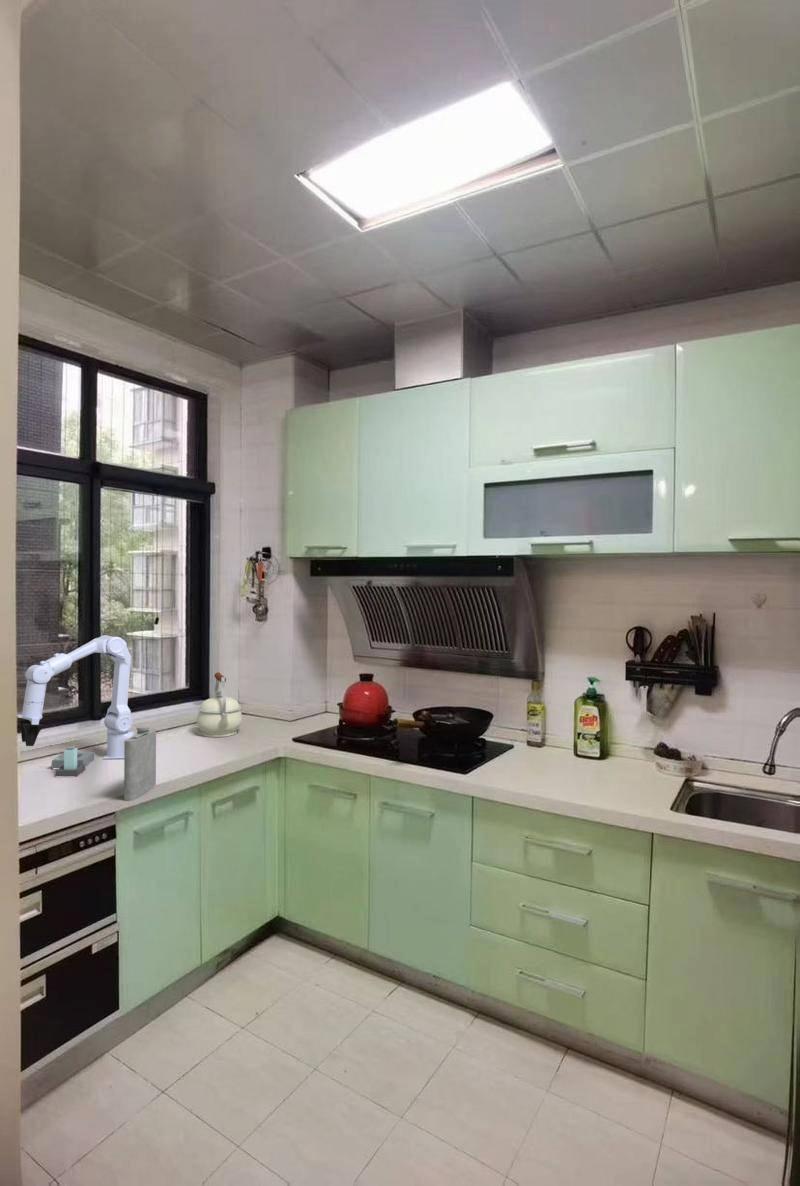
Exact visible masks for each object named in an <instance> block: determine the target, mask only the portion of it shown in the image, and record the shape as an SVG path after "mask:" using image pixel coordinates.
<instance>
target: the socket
mask: <svg viewBox="0 0 800 1186" xmlns="http://www.w3.org/2000/svg"><path fill="white" fill-rule="evenodd" d="M93 760H94V761H95V752H94V751H77V764H86V765H87V766H88V764H89V763H90V762H91V763H93V762H94V761H93ZM92 761H93V762H92ZM91 763H90V764H91ZM90 764H89V765H90ZM63 765H64V752H63V753H62V754H60V755H59V756H57V757H55V758H53V759H52V760H51V769H52V768H60V767H62V766H63Z"/></svg>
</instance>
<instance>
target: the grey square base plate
mask: <svg viewBox="0 0 800 1186" xmlns="http://www.w3.org/2000/svg"><path fill="white" fill-rule="evenodd" d="M85 766H86V764H77V768H76V769H66V770H64V765H63V766H62V767H60V768H59V769H55V770H54V771H55V772H54V775H55V776H75V777H78V775H79V774H80V773H81V774H83V773H84V772H85V771H86V767H87V766H86V767H85ZM84 770H85V771H84ZM83 771H84V772H83ZM81 774H80V775H81ZM80 775H79V776H80Z"/></svg>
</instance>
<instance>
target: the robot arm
mask: <svg viewBox="0 0 800 1186" xmlns="http://www.w3.org/2000/svg"><path fill="white" fill-rule="evenodd" d="M127 645H128V644H127V642H126V641H125V640H124V639H123V638H121V637H120V636H110V635H106V634H105V635H101V636H99V637H96V638H94V639H93V638H92V640H90V641H89V642H87V643H85V644H83V645H81V646H80V647H78V648H76V649H74V650H72V651H71V652H69V653H67V654H66V653H62V652H61V653H54V654H53V657H50V658H48V659H46V660H41V661H40V662H39V664H34V665H31V666H29V667H28V669H26V672H24V677H25V679H26V687H25V690H24V691H25V692H24V698H23V704H22V705H23V707H22V712H21V714H17V716H18V717H17V718H20V719H18V720H19V721H18V722H19V723H18V724H19V726H20V731H21V732H20V734H21V741H22V742H23V743H25V746H26V747H34V745H35V744H36V741H37V738H38V737H39V736H38V735H39V733H40V732H41V731H42V729H43V728H44V724H40V720H42V719H43V710H44V705H45V697H46V691H47V683H48V682H49V681H50V680H51V678H53V677H54V676H57V675H58V674H60V673H63V672H64V671H66V670H68V669H70V668H71V666H72V664H73V663H74V662H76V661H79V660H80V659H83V658H86V657H88V656H89V655H92V654H94V653H96V654H97V653H99V654H105V655H106V656H108V657H109V658H110V659H111V660H112V661H113V662H114V669H113V678H112V679H113V680H112V690H111V691H112V692H111V704H110V706H109V707H108V708H107V712H106V715H105V717H104V720H103V724H104V726H105V728H107V731H106V733H107V735H106V736H107V738H106V743H107V744H106V747H107V748H106V755H104V756H103V757H102V759H103V760H106V759H107V760H110V759H113V760H114V759H115V760H117V759H121V760H122V759H124V740H126V739H129V738H130V737H132V736H134V735H136V734H137V732H135V731H130V729H132V726H133V719H132V716H131V715H132V713H131V712H132V711H131V709H130V707H129V706H128V703H129V702H128V701H129V691H130V689H129V688H130V679H131V678H130V676H131V667H132V666H131V665H132V664H131V663H132V656H131V653H130V650H129V649H128V646H127Z"/></svg>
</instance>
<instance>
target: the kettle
mask: <svg viewBox="0 0 800 1186" xmlns="http://www.w3.org/2000/svg"><path fill="white" fill-rule="evenodd" d="M214 678H215V684H214V685H215V686H214V697H213V696H212V697H210V698H208V699H205V700H204V701H203V702H202V703H201V705H200V706H198V709H197V710H198V711H199V712H198V714H197V718H196V724H197V728H199V730H200V731H201V734H202V735H203V736H204V737H208V738H226V736H227V737H231V735H232V736H235V735H236V734H237V733H238V730H239V728H240V727H241V726H242V724H243V715H242V714H243V713H242V711H241V710H242V706H241V705H240V703H239V702H238V700H237V699H235V698H233V697H230V696H227V695H226V686H225V685H226V682H227V678H226V677H225V676H224V675H222V673H220V672H215V673H214ZM219 684H221V685H219ZM219 686H220V687H221V688H220V689H221V690H219Z"/></svg>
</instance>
